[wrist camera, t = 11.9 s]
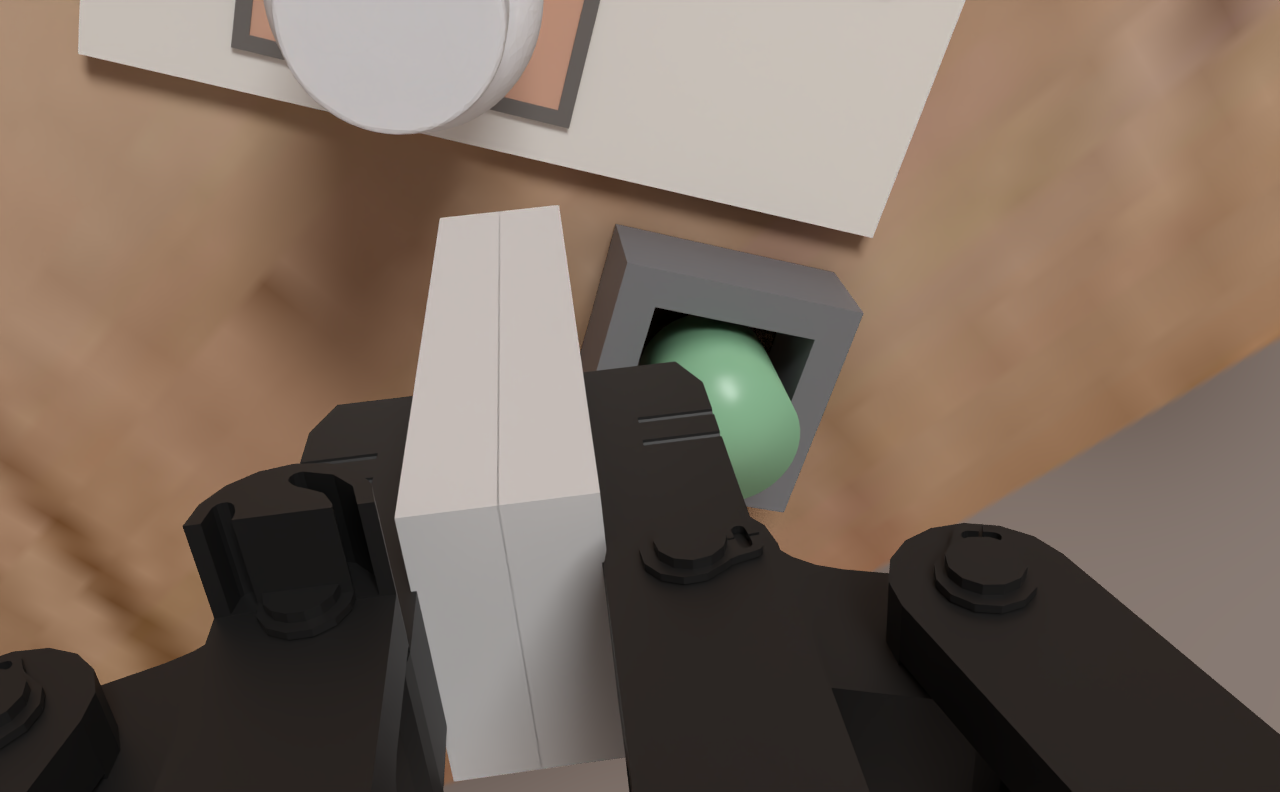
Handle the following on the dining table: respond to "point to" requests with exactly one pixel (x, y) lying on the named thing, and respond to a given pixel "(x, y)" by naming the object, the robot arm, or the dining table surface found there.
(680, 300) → the button housing
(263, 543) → the robot arm
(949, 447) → the dining table surface
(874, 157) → the sheet
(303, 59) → the pill bottle
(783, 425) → the button
